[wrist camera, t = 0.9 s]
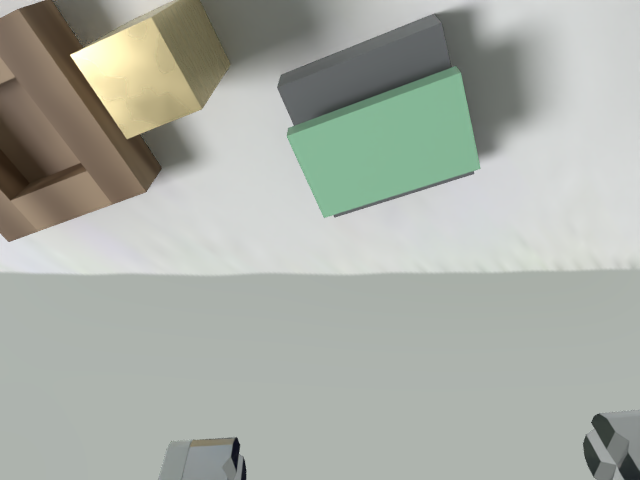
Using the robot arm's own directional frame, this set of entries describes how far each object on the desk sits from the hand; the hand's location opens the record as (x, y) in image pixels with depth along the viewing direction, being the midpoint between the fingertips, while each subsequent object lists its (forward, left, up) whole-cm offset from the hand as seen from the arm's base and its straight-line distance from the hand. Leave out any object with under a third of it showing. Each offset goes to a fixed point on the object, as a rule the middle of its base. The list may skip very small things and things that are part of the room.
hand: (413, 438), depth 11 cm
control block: (-1, +2, -24) cm, 24 cm away
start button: (-1, +2, -22) cm, 22 cm away
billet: (+9, -7, -24) cm, 27 cm away
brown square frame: (+21, -6, -24) cm, 33 cm away
